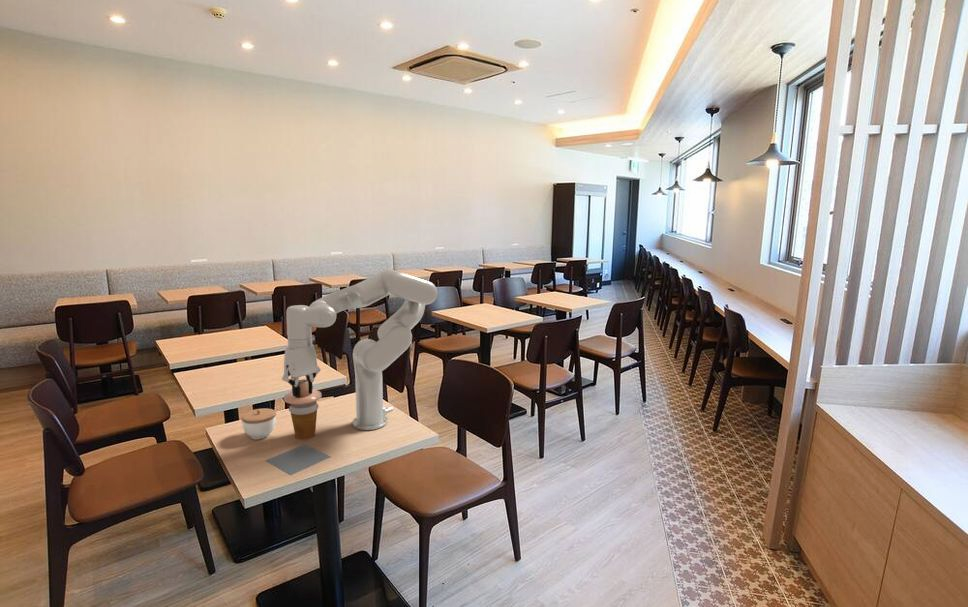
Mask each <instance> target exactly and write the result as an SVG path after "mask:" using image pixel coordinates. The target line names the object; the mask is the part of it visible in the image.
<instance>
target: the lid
mask: <svg viewBox="0 0 968 607" xmlns="http://www.w3.org/2000/svg"><path fill="white" fill-rule="evenodd" d="M298 386H300V397H299V398H297V397H295V396H293V394H292V391H291V392H288V393H286V394H284V396H283V401H284V402H285V404H286V403H287V404H307V403H311V402H315V401H316V402H317V401H319V400H320V399H321V398H322V392H321V391H320V390H317V389H313V390H312V394H309V383H308V380H306V378H305V379H299V381H298Z"/></svg>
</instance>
